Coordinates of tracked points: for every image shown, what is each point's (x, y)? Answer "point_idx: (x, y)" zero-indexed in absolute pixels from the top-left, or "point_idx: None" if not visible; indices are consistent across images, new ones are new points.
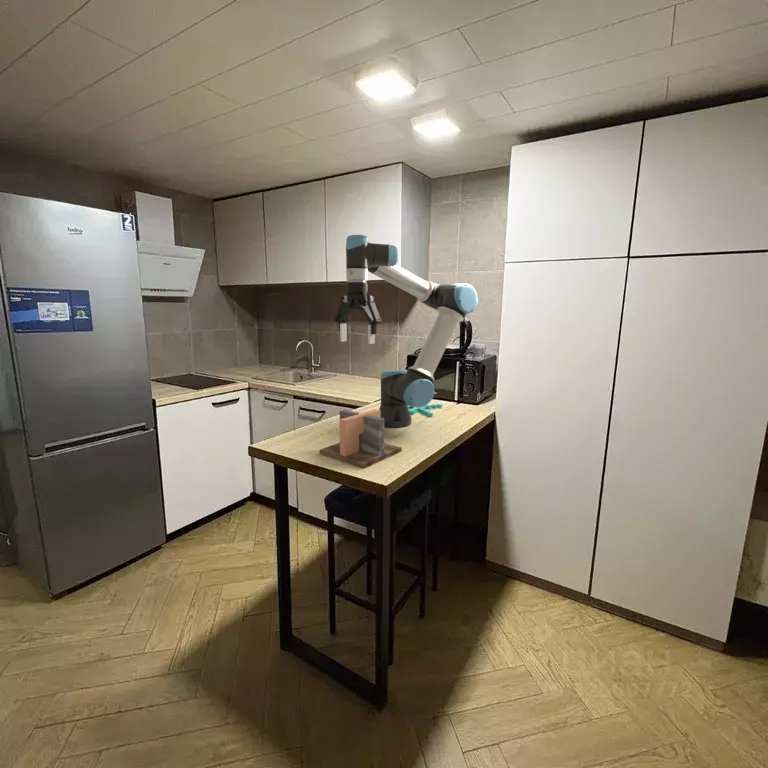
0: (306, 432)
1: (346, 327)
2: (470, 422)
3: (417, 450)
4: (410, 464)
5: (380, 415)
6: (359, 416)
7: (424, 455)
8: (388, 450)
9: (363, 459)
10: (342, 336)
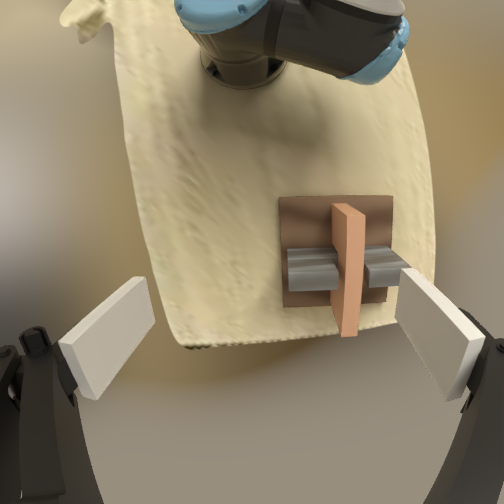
0: (163, 241)
1: (92, 325)
2: None
3: (406, 171)
4: (430, 237)
5: (361, 213)
6: (360, 293)
7: (427, 186)
8: (384, 228)
9: (375, 289)
10: (139, 332)
